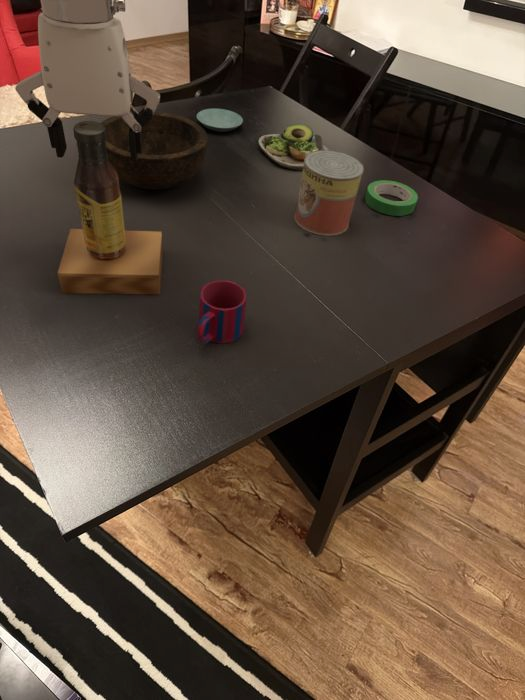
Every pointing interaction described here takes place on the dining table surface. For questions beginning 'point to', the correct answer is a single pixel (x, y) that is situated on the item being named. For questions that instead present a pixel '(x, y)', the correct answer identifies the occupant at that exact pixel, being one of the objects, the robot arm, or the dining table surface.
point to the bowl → (157, 151)
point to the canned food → (327, 192)
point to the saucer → (219, 119)
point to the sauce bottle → (98, 193)
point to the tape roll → (387, 205)
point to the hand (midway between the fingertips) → (98, 155)
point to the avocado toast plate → (291, 146)
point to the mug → (221, 312)
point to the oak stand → (113, 266)
